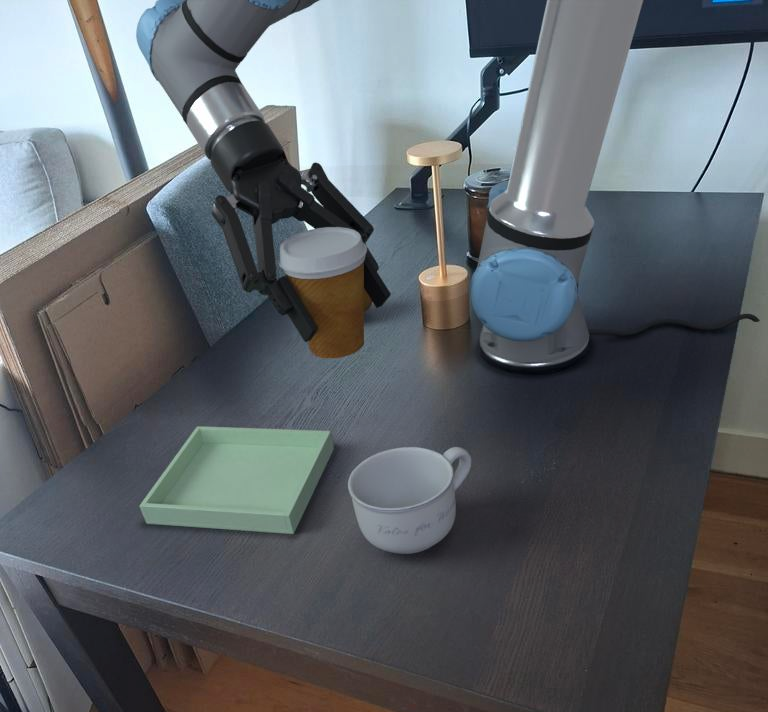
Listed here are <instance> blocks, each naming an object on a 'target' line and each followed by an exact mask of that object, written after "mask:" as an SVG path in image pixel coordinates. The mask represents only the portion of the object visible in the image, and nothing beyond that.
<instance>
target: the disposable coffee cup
mask: <svg viewBox="0 0 768 712" xmlns="http://www.w3.org/2000/svg"><path fill="white" fill-rule="evenodd" d="M366 246H367V244H366V245H365V244H364V243H363V241H362V238H361V236H360V234H359V233H358V232H357V231H355V230H352V229H349V228H342V227H325V228H317V229H315V228H312V229H309V230H305V231H301V232H298V233H296V234H293V235H290V236H289V237H288V238H286V239H285V240H283V242H282V243H281V244H280V246H279V255H278V257H277V263H278V266H279V268H281V270H282V272H283V273H284V274H285V275H284V276H286V278H287V279H288V281H289V282H290V284H291V286H292V287H293V289H294V290H295V292H296V294H297V295H298V297H299V298H300V300H301V301H302V303H303V305H304V306H305V308H306V309H307V311H308V313H309V314H310V316H311V317H312V319H313V320H314V322H315V324H316V325H317V327H318V330H317V331H316V333H315V334H314V336H313V337H312V339H311V340H309V341H307V345H308V347H309V351H310V353H311V354H312V355H313V356H315V357H318V358H322V359H340V358H345V357H348V356H352V355H353V354H355V353H357V352H358V351H360V350H361V349H362V348H363V347H364V345H365V312H364V260H365V255H366V252H367V247H368V246H367V247H366Z"/></svg>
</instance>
